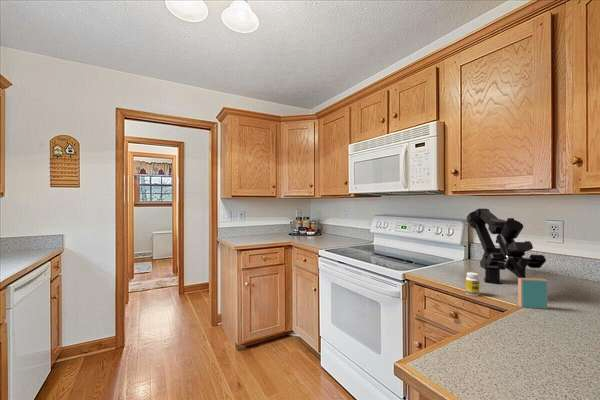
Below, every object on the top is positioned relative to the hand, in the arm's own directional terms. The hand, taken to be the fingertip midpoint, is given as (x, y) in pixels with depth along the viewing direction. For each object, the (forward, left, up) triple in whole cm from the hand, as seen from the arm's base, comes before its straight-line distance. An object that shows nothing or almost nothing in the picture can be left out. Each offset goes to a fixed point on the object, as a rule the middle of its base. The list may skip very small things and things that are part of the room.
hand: (523, 279), depth 104 cm
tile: (+5, +2, -8) cm, 10 cm away
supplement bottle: (0, -16, -8) cm, 18 cm away
